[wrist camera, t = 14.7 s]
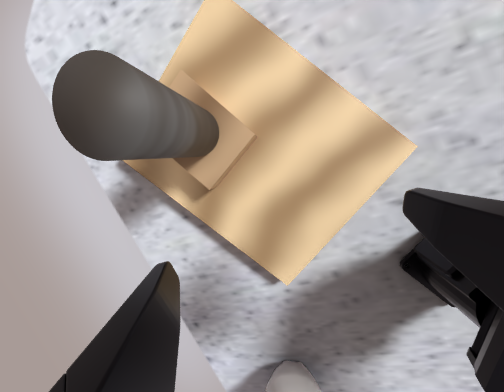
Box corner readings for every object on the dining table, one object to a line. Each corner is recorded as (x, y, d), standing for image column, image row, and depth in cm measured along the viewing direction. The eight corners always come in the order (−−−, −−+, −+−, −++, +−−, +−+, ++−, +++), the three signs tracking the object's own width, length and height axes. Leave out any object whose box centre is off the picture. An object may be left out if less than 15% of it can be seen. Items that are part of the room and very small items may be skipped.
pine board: (406, 147, 18) (417, 146, 17) (286, 276, 22) (287, 285, 20) (218, -2, 18) (212, -16, 16) (127, 155, 22) (116, 155, 20)
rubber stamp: (257, 136, 18) (225, 110, 7) (218, 185, 19) (136, 229, 8) (194, 80, 18) (54, -40, 7) (157, 133, 19) (-12, 105, 8)
